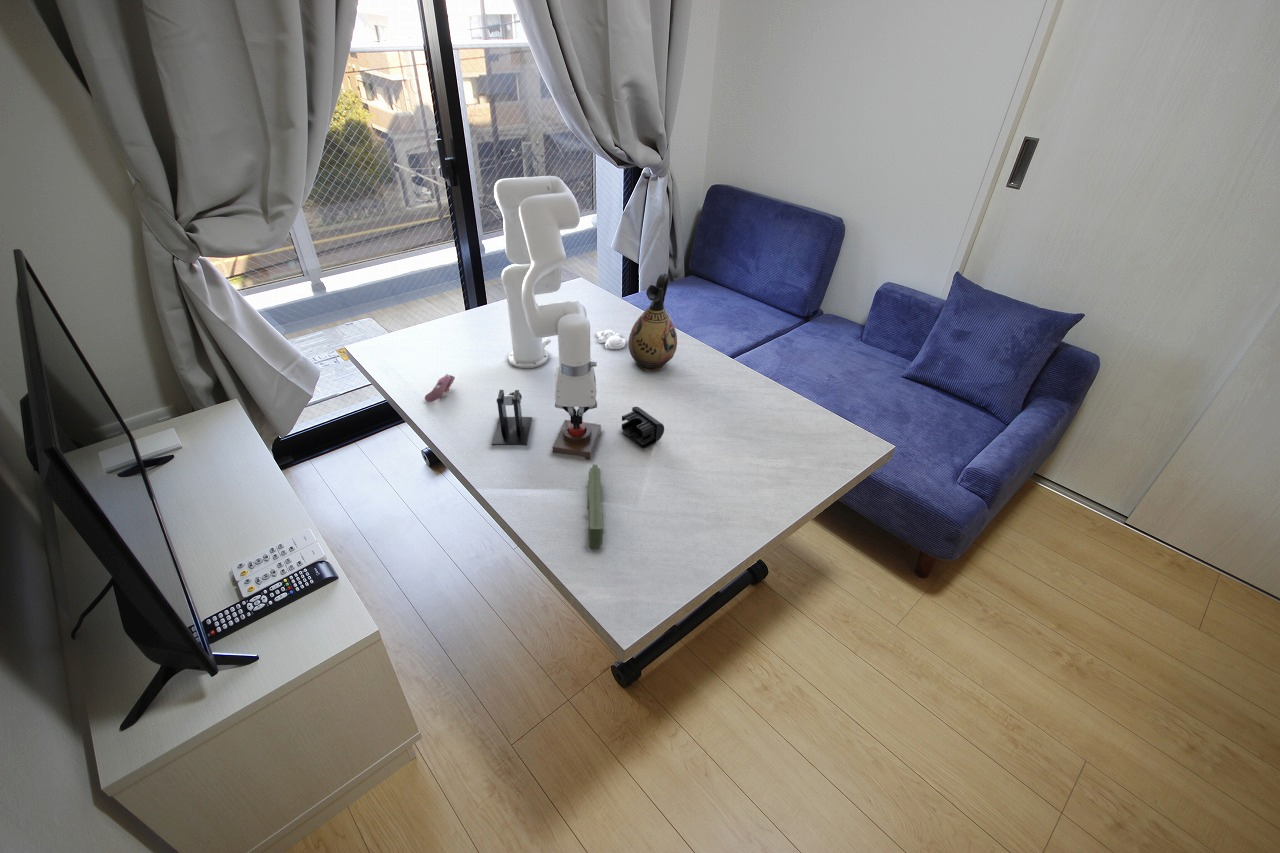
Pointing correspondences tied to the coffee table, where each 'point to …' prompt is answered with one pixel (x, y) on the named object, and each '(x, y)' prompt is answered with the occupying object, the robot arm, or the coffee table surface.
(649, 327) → the ceramic jug
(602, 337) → the white fluffy lump
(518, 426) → the switch bracket
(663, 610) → the coffee table surface
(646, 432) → the end cap
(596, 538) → the handheld radio
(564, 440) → the button box
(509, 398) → the switch lever
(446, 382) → the video game controller
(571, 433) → the button
